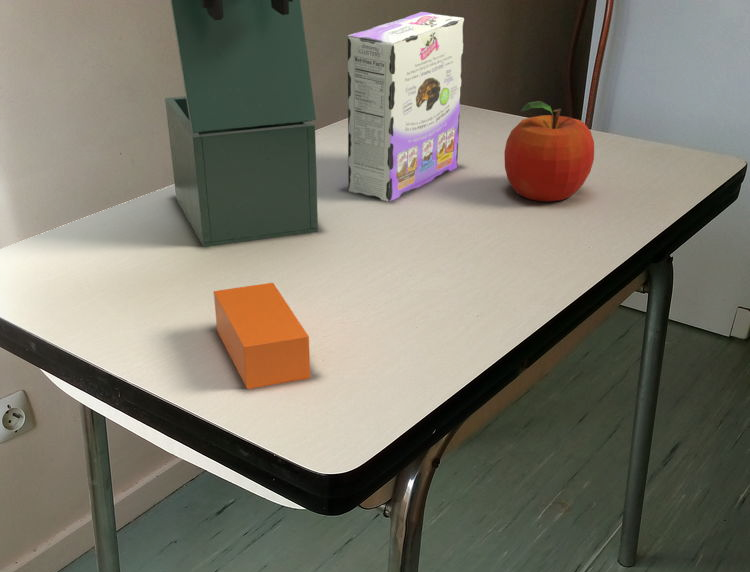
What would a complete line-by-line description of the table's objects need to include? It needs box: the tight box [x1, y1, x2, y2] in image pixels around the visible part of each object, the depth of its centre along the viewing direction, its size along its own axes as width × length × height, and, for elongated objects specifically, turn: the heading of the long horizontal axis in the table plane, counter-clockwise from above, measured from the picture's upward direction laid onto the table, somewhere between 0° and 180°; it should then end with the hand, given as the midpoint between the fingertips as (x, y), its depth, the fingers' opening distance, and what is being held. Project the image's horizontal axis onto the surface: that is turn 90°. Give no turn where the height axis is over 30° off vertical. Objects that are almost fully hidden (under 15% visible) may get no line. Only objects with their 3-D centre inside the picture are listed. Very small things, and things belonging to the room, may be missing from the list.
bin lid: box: [169, 0, 317, 133], centre depth 88 cm, size 14×12×5 cm
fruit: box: [503, 100, 595, 203], centre depth 107 cm, size 10×10×10 cm
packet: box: [213, 282, 311, 390], centre depth 79 cm, size 5×10×4 cm, turn 20°
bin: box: [164, 95, 319, 248], centre depth 101 cm, size 14×12×11 cm
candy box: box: [347, 11, 465, 202], centre depth 108 cm, size 14×6×16 cm, turn 144°
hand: (247, 12), depth 87 cm, fingers closed on bin lid, 5 cm apart
